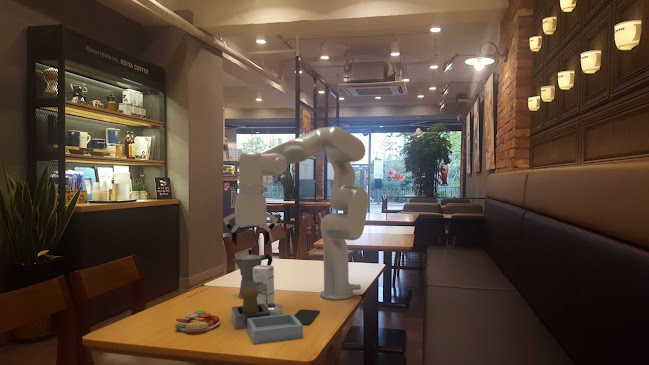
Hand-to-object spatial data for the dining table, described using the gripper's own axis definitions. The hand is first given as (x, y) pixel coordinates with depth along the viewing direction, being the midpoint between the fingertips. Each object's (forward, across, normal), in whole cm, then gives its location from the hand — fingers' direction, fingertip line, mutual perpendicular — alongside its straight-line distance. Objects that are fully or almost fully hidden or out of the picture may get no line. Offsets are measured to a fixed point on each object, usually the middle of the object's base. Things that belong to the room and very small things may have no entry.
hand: (250, 244), depth 141 cm
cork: (+25, 0, +2) cm, 25 cm away
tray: (+24, -6, +14) cm, 29 cm away
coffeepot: (+24, -4, -31) cm, 39 cm away
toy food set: (+25, +16, +1) cm, 30 cm away
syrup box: (+24, -6, -14) cm, 29 cm away
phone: (+25, -18, +2) cm, 30 cm away
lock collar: (+24, -3, -1) cm, 25 cm away
